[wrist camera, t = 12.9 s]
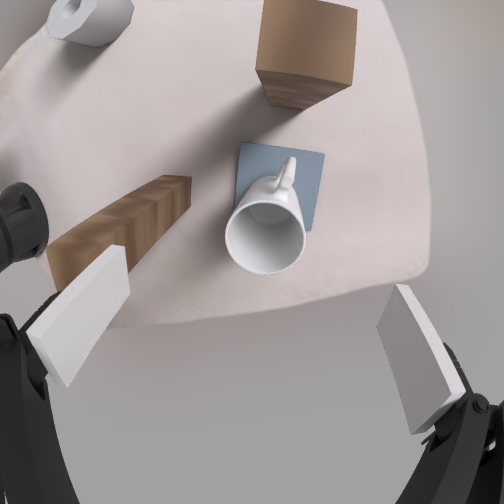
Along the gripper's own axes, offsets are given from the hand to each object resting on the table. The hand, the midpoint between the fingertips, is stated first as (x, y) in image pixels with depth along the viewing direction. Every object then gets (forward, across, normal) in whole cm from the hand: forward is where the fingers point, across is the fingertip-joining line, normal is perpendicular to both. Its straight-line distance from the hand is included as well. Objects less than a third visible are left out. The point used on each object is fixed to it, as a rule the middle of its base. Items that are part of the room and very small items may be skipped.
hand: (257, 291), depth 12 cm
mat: (+23, +1, 0) cm, 23 cm away
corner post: (+23, -12, -3) cm, 26 cm away
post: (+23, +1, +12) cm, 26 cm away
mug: (+23, +1, -1) cm, 23 cm away
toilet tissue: (+24, -26, +25) cm, 43 cm away
